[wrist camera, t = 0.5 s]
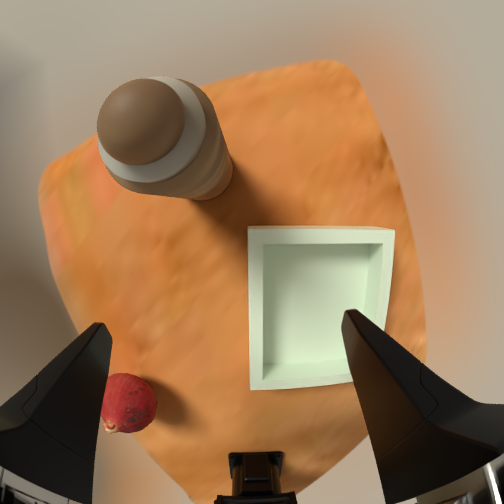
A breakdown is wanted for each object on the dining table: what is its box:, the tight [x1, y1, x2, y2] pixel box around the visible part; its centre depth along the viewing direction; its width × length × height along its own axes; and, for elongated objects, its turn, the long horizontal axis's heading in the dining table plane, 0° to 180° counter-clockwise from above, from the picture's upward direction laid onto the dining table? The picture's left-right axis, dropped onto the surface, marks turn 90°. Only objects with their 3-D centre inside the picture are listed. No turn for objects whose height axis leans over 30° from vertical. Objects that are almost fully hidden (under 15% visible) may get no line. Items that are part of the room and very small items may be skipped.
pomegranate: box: [101, 373, 158, 433], centre depth 20 cm, size 6×6×8 cm
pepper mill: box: [97, 76, 233, 200], centre depth 14 cm, size 5×5×15 cm
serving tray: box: [248, 226, 395, 390], centre depth 21 cm, size 13×11×4 cm
